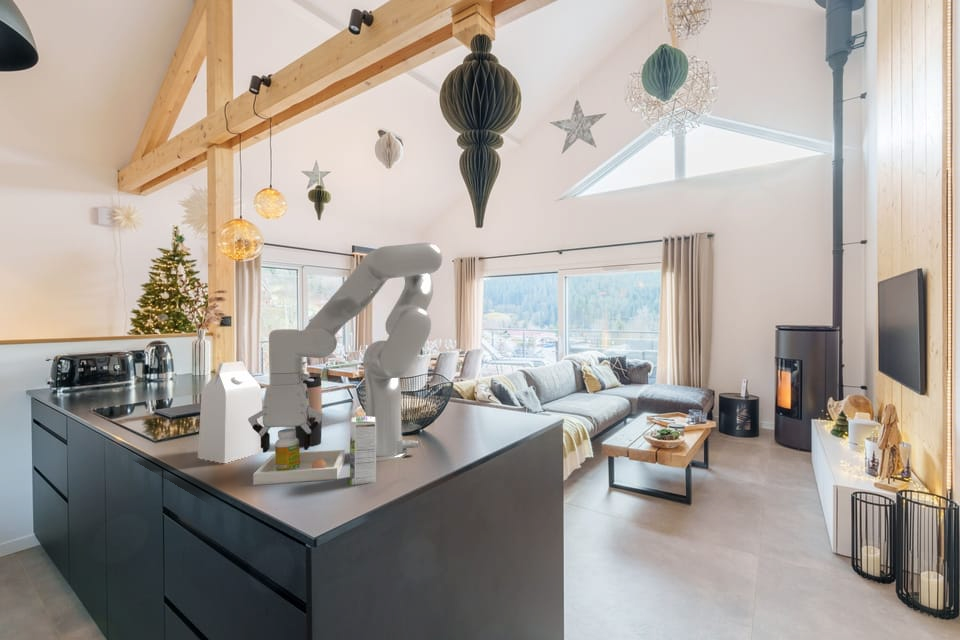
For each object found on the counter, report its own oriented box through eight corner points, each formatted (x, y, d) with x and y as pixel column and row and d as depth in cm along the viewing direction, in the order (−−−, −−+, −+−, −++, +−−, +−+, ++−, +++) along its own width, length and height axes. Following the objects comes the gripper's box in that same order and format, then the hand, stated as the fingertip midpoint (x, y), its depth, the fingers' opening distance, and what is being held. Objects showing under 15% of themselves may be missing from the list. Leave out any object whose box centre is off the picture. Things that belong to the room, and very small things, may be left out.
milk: (238, 447, 130) (238, 359, 130) (265, 451, 125) (264, 361, 125) (197, 458, 119) (196, 363, 119) (224, 464, 114) (223, 365, 114)
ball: (326, 469, 107) (326, 456, 107) (324, 474, 104) (324, 460, 104) (313, 470, 106) (313, 457, 106) (310, 475, 103) (310, 461, 103)
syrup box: (350, 478, 102) (349, 417, 102) (376, 476, 104) (375, 415, 104) (349, 487, 96) (349, 422, 97) (377, 484, 98) (376, 420, 98)
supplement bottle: (290, 474, 103) (289, 433, 103) (270, 473, 104) (269, 433, 105) (304, 466, 109) (303, 428, 109) (285, 466, 110) (284, 427, 110)
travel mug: (303, 440, 136) (303, 376, 136) (326, 440, 135) (326, 376, 135) (289, 447, 129) (289, 379, 129) (314, 447, 128) (313, 380, 128)
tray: (345, 461, 115) (345, 449, 115) (337, 481, 100) (337, 468, 100) (272, 465, 112) (272, 454, 112) (253, 487, 97) (253, 474, 97)
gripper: (325, 376, 112) (326, 443, 112) (253, 378, 109) (253, 447, 109) (320, 380, 104) (321, 452, 104) (242, 382, 101) (243, 456, 101)
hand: (286, 449), depth 106 cm, fingers open, 9 cm apart
